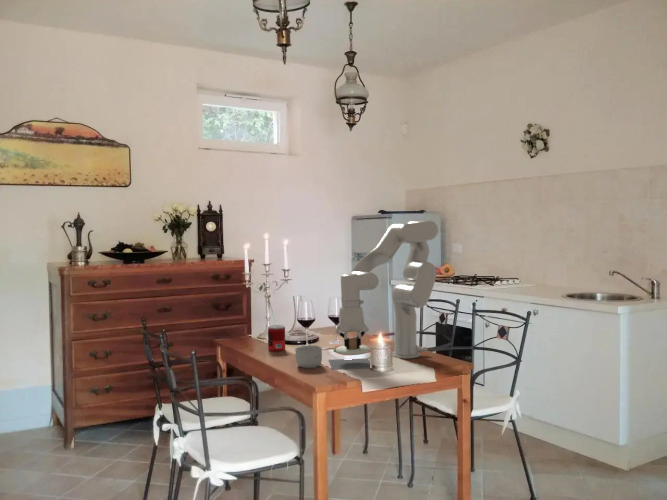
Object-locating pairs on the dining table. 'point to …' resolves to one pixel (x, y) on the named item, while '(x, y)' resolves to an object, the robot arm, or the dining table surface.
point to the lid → (352, 348)
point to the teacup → (308, 356)
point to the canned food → (276, 338)
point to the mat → (349, 364)
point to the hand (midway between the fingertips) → (352, 347)
